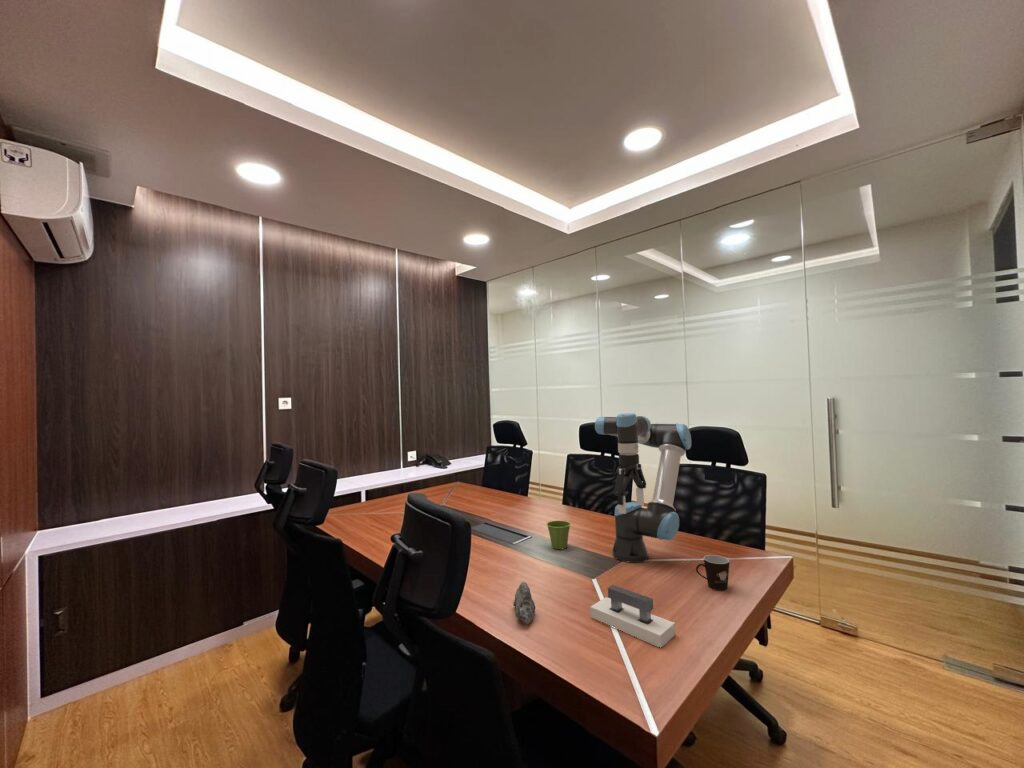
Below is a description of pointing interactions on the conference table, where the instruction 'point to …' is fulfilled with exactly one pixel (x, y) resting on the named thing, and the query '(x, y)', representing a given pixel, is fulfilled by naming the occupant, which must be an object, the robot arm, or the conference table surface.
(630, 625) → the white slotted block
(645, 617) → the dark grey u-shaped bracket
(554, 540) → the plant pot
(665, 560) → the conference table surface
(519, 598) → the mineral rock
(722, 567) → the coffee mug
